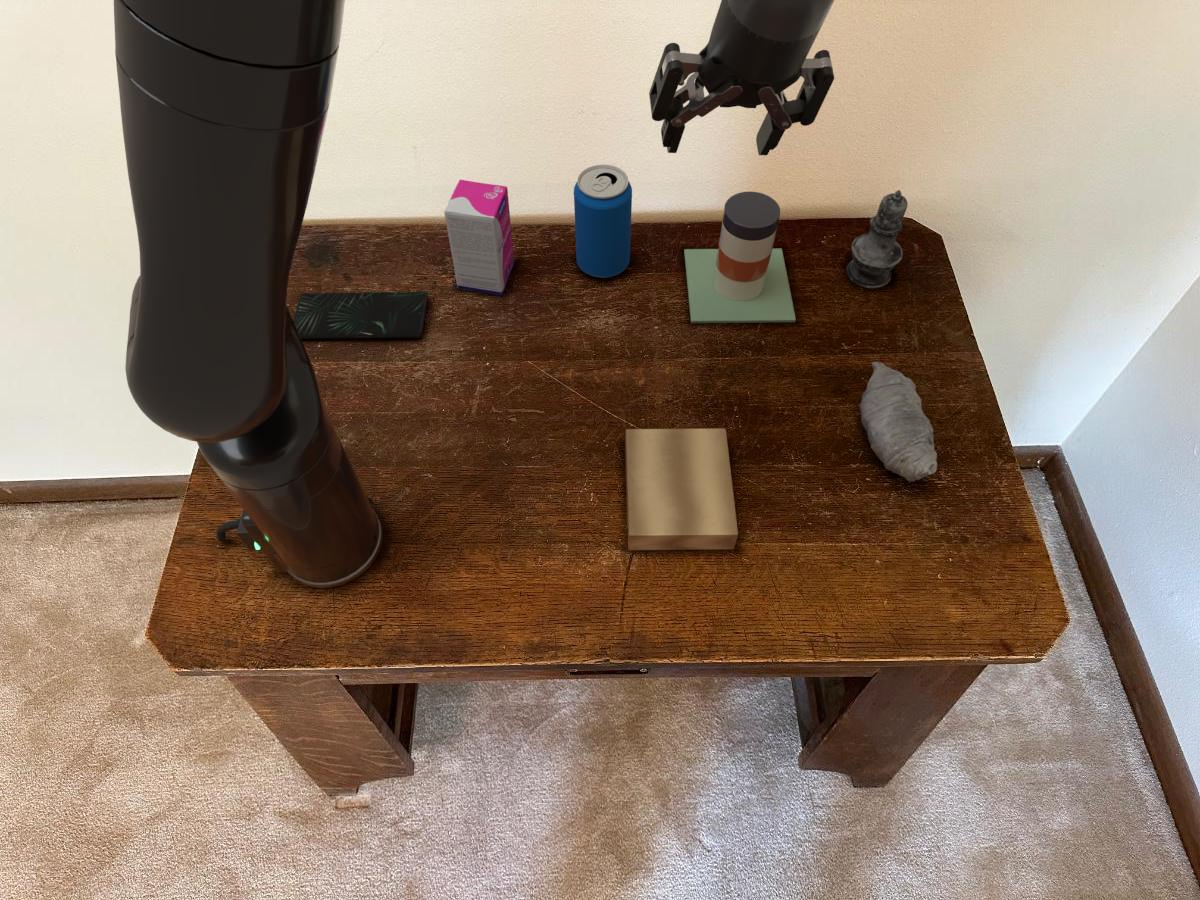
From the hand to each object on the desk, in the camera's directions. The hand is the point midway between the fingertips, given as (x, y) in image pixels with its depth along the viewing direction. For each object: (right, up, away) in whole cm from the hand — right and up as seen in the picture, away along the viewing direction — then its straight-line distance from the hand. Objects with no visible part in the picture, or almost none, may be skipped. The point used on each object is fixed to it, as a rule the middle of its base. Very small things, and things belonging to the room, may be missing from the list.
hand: (716, 146), depth 72 cm
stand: (-3, -32, +6) cm, 33 cm away
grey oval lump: (+19, -26, +10) cm, 34 cm away
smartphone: (-38, -13, +20) cm, 45 cm away
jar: (+6, -2, +19) cm, 20 cm away
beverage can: (-10, -5, +25) cm, 27 cm away
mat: (+6, -8, +22) cm, 25 cm away
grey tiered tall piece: (+22, -6, +24) cm, 33 cm away
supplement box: (-24, -7, +24) cm, 35 cm away
